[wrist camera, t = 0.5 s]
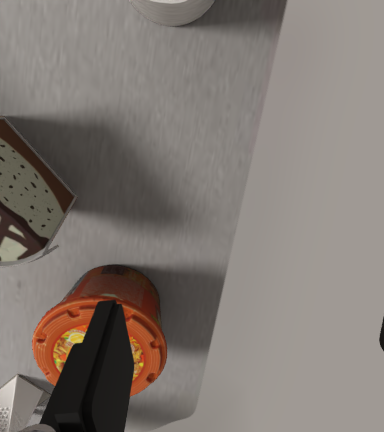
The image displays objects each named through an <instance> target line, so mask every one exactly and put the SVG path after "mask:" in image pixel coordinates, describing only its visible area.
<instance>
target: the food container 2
mask: <svg viewBox="0 0 384 432" xmlns="http://www.w3.org/2000/svg"><path fill="white" fill-rule="evenodd" d="M107 300H116V302H117V304H122V307H123V311H124V316H125V321H126V325H127V330H128V335H129V339H130V344H131V349H132V354H133V358H134V375H133V381H132V387H131V393H130V396H133V395H135V394H137V393H139V392H141V391H142V390H144V389H145V388H146V387H147V386H149V385H150V384H151V383H153V382H154V381H155V380H156V379H157V377H158V376H159V375H160V374H161V372H162V371H163V369H164V366H165V364H166V359H167V344H166V340H165V336H164V334H163V332H162V326H161V313H160V300H159V295H158V292H157V290H156V288H155V286H154V285H153V284H152V283H151V281H150V280H149V279H148V278H146V277H145V276H144V275H143V274H141V273H139V272H138V271H136V270H133V269H130V268H127V267H123V266H116V265H107V266H101V267H97V268H94V269H92V270H90V271H88V272H87V273H85V274H84V275H83V276H82V277H81V278H80V279H79V280H78V281H77V283H76V284H75V285H74V286H73V288H72V289H71V290H70V291H69V293H68V294H67V295H66V296H65V298H64V299H63V300H62V301H61V302H60V303H59V304H57V305H56V306H55V307H54V308H51V310H50V311H48V312H46V314H45V315H44V317H42V319H41V321H40V322H39V324H38V326H37V327H36V329H35V331H34V334H33V340H32V343H33V344H32V347H33V349H32V350H33V353H34V357H35V360H36V362H37V364H38V367H39V368H40V369H41V371H42V372H43V373H44V374H45V377H46V379H47V380H48V381H49V382H50V383H52V384H53V385H54V386H55V385H56V383H57V381H58V378H59V376H60V373H61V371H62V369H63V366H64V364H65V362H66V359H67V357H68V354H69V352H70V350H71V348H72V346H73V345H74V344H75V343H82V341H83V339H84V336H85V334H86V331H87V328H88V326H89V323H90V321H91V318H92V315H93V313H94V310H95V308H96V305H97V303H98V302H99V301H107Z"/></svg>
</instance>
